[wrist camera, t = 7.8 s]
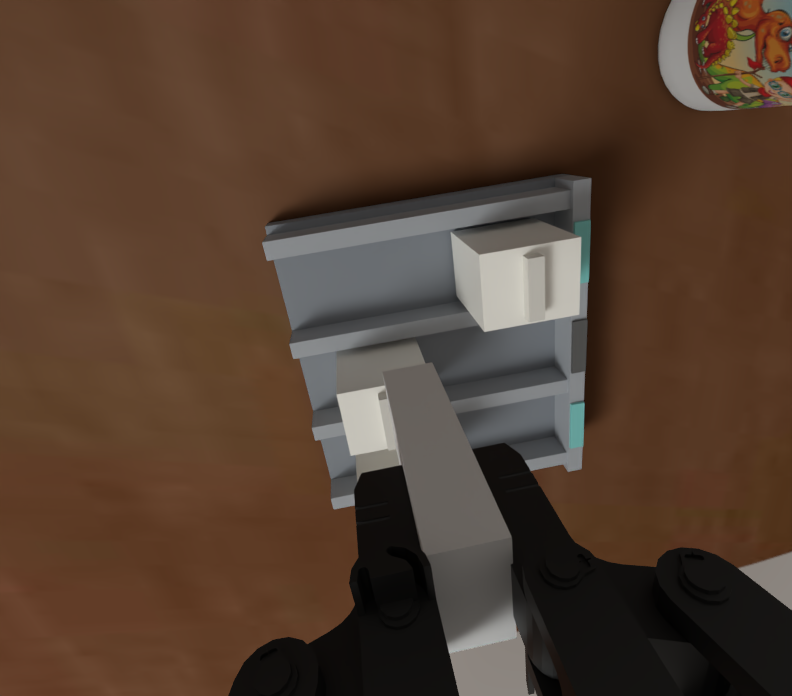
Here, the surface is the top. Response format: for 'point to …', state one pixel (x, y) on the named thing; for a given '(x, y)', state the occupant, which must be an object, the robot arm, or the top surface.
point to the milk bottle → (727, 53)
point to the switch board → (436, 317)
